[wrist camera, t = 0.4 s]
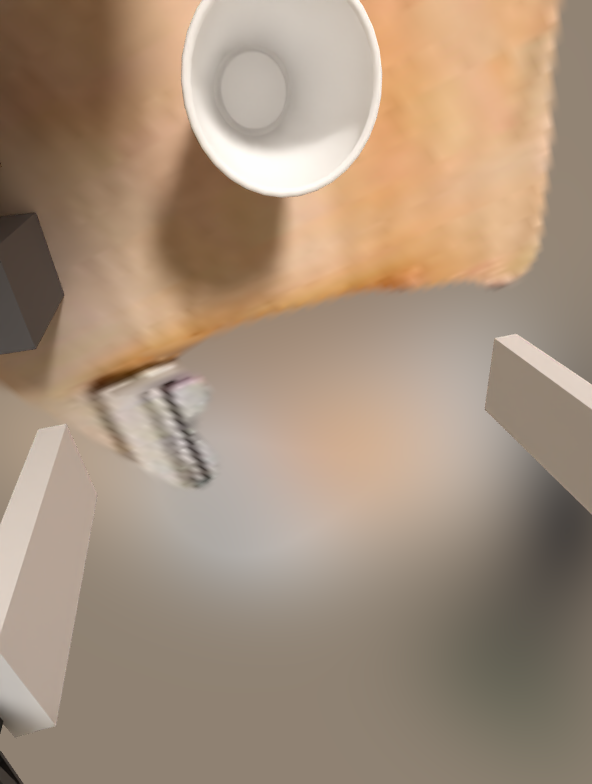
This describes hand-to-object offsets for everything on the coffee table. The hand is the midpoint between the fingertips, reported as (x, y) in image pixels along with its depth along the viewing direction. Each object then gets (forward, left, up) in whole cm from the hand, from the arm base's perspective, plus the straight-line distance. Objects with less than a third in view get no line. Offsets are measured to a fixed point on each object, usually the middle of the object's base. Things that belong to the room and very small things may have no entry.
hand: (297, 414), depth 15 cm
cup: (-8, +3, -26) cm, 28 cm away
